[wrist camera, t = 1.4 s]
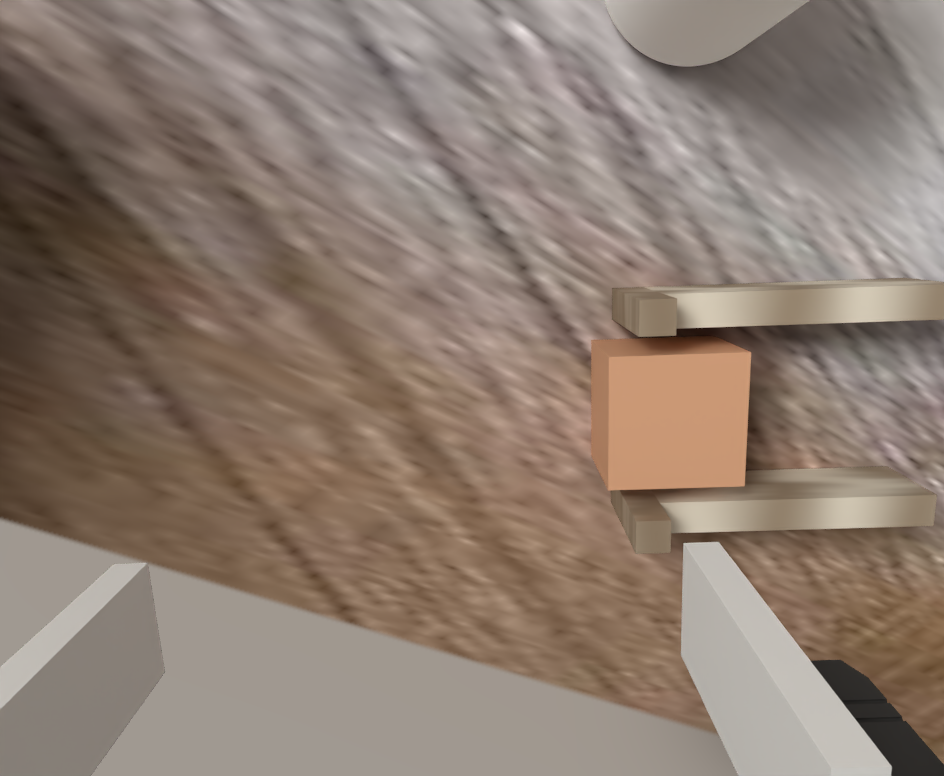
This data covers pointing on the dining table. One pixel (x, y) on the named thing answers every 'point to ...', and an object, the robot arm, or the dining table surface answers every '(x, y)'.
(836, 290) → the parallel beige rails
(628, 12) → the beverage can
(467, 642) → the dining table surface
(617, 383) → the block
